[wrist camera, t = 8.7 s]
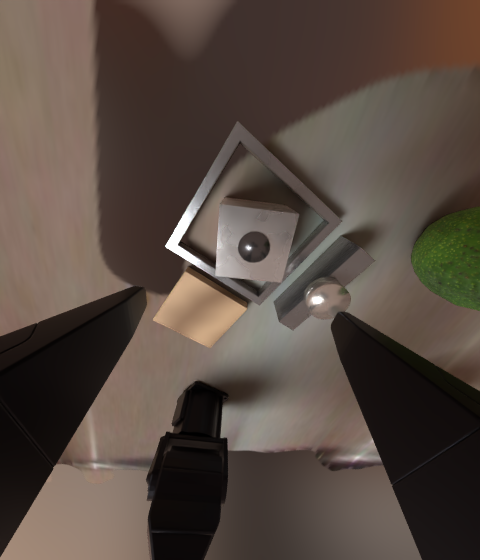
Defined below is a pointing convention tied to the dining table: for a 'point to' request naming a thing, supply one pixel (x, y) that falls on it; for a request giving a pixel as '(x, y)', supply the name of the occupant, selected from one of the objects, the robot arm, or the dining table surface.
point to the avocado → (451, 258)
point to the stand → (200, 308)
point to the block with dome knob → (254, 239)
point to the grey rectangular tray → (317, 278)
